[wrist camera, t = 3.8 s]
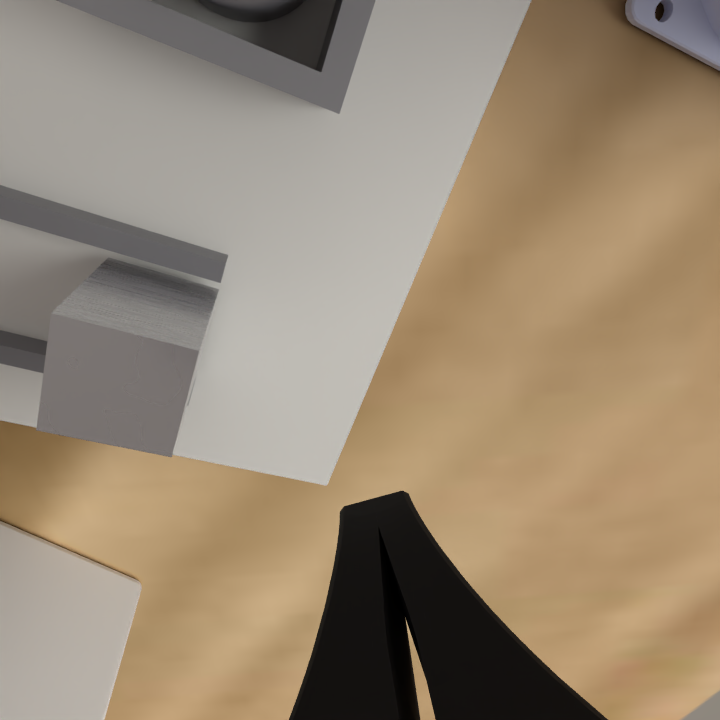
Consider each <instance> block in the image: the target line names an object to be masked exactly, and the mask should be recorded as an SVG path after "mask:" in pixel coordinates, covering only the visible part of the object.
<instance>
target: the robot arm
mask: <svg viewBox="0 0 720 720" xmlns="http://www.w3.org/2000/svg"><path fill="white" fill-rule="evenodd" d="M660 2H661V3H662V4H663V6H664V13H663V17H662V18H661V19H660V20H659V22H658V20H657V19H656V18H655V10H656V7H657V5H658V4H659V3H660ZM625 14H626V17H627V19H628V21H629V22H630V23H631V24H632V25H634V26H636V27H638V28H640V29H642V30H644V31H646V32H647V33H649V34H651V35H653V36H655V37H657V38H659V39H661V40H662V41H664V42H666V43H668V44H670V45H672V46H674V47H675V48H677V49H679V50H681V51H683V52H685V53H687V54H689V55H690V56H692V57H694V58H696V59H698V60H700V61H702V62H704V63H705V64H707V65H709V66H711V67H713V68H715V69H717V70H719V71H720V0H627V2H626V5H625ZM405 617H406V619H405ZM406 620H407V623H408V626H409V629H410V632H411V635H412V638H413V641H414V644H415V647H416V650H417V653H418V656H419V659H420V662H421V665H422V668H423V671H424V674H425V677H426V680H427V684H428V689H429V693H430V697H431V701H432V706H433V710H434V714H435V719H436V720H608V719H606V718H605V717H604V716H603V715H602V714H601V713H600V712H598V711H597V710H596V709H595V708H594V707H593V706H591V705H590V704H589V703H588V702H587V701H586V700H585V699H583V698H582V697H581V696H580V695H579V694H578V693H576V692H575V691H574V690H573V689H572V688H571V687H570V686H568V685H567V684H566V683H565V682H564V681H563V680H561V679H560V678H559V677H558V676H557V675H556V674H555V673H554V672H553V671H552V670H551V669H550V668H549V667H548V666H547V665H545V664H544V663H543V662H542V661H541V660H540V659H539V658H538V657H537V656H536V655H535V654H534V653H533V652H532V651H531V650H530V649H529V648H528V647H527V646H526V645H525V644H524V643H523V642H522V641H521V640H520V639H519V638H518V637H517V636H516V635H515V634H514V633H513V632H512V631H511V630H510V629H509V628H508V627H507V626H506V625H505V624H504V623H503V622H502V621H501V620H500V618H499V617H498V616H497V615H496V614H495V613H494V612H493V611H492V610H491V609H490V608H489V606H488V605H487V604H486V603H485V602H484V601H483V600H482V598H481V597H480V596H479V595H478V594H477V593H476V592H475V590H474V589H473V588H472V587H471V586H470V584H469V583H468V582H467V581H466V580H465V578H464V577H463V576H462V575H461V574H460V572H459V571H458V570H457V568H456V567H455V566H454V564H453V563H452V562H451V561H450V559H449V558H448V557H447V555H446V554H445V553H444V552H443V550H442V549H441V547H440V546H439V545H438V543H437V542H436V540H435V539H434V538H433V536H432V535H431V533H430V532H429V530H428V529H427V527H426V526H425V524H424V522H423V521H422V519H421V517H420V516H419V514H418V512H417V510H416V509H415V507H414V505H413V503H412V501H411V498H410V496H409V494H408V493H406V492H404V491H399V492H396V493H392V494H388V495H385V496H381V497H377V498H374V499H370V500H366V501H362V502H359V503H355V504H351V505H348V506H344V507H343V509H342V510H341V511H340V525H339V535H338V543H337V550H336V555H335V561H334V567H333V572H332V577H331V581H330V586H329V590H328V595H327V600H326V604H325V608H324V612H323V615H322V619H321V623H320V626H319V630H318V633H317V637H316V641H315V644H314V648H313V651H312V655H311V658H310V661H309V664H308V667H307V670H306V673H305V676H304V679H303V682H302V685H301V688H300V691H299V694H298V696H297V699H296V702H295V705H294V708H293V710H292V713H291V716H290V718H289V720H420V715H419V708H418V701H417V694H416V687H415V680H414V674H413V667H412V660H411V653H410V646H409V640H408V633H407V626H406Z"/></svg>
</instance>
